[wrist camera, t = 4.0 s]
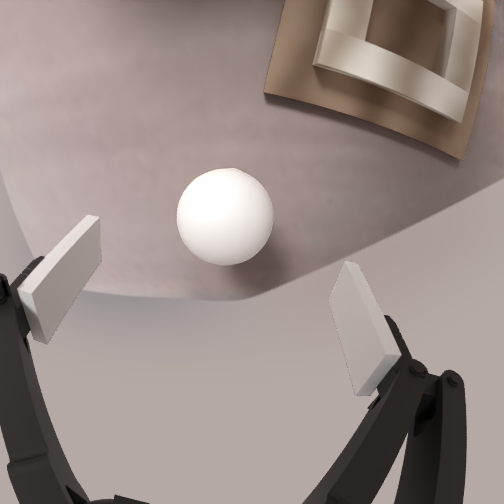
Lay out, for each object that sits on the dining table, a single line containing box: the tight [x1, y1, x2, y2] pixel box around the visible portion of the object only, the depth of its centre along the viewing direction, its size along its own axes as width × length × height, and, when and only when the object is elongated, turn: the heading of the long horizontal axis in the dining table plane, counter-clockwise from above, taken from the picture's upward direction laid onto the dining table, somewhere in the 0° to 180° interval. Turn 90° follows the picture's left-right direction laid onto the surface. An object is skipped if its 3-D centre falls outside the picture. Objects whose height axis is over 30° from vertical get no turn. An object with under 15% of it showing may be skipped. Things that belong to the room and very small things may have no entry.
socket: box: [263, 0, 495, 161], centre depth 17 cm, size 20×20×3 cm
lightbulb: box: [177, 168, 274, 265], centre depth 21 cm, size 6×6×11 cm
